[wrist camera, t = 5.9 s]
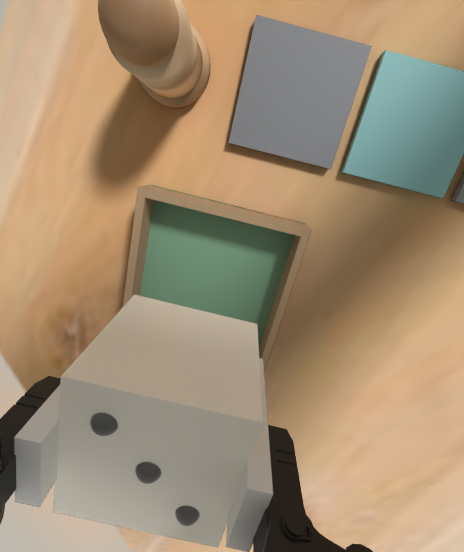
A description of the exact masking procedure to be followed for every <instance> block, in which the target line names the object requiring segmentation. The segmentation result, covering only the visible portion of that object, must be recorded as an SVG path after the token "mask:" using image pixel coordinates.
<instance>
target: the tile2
mask: <svg viewBox="0 0 464 552" xmlns="http://www.w3.org/2000/svg"><path fill="white" fill-rule="evenodd" d="M463 155H464V71H460V70H457V69H453V68H449V67H446V66H442V65H439V64H435V63H431V62H428V61H424V60H420V59H417V58H413V57H409V56H406V55H402V54H398V53H395V52H391V51H387V50H385V51H384V52H383V53H382V55H381V58H380V61H379V64H378V67H377V70H376V73H375V76H374V78H373V81H372V84H371V87H370V90H369V93H368V96H367V99H366V102H365V105H364V107H363V110H362V113H361V116H360V119H359V122H358V125H357V128H356V131H355V133H354V136H353V139H352V142H351V145H350V148H349V151H348V154H347V157H346V160H345V162H344V165H343V168H342V171H341V172H342V173H346V174H350V175H354V176H358V177H362V178H365V179H369V180H373V181H377V182H381V183H385V184H389V185H393V186H396V187H400V188H404V189H408V190H412V191H416V192H420V193H424V194H427V195H431V196H435V197H439V198H443V197H444V195H445V193H446V191H447V189H448V187H449V185H450V182H451V180H452V178H453V176H454V174H455V172H456V170H457V168H458V165H459V163H460V161H461V159H462V157H463Z"/></svg>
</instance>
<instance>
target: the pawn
mask: <svg viewBox="0 0 464 552" xmlns="http://www.w3.org/2000/svg"><path fill="white" fill-rule="evenodd" d="M98 14H99V20H100V24H101V28H102V31H103V33H104V35H105V37H106V39H107V42H108V45H109V48H110V50H111V52H112V54H113V55H114V57H115V58H116V60H117V61H118V62H119V63H120V64H121V65H122V66H123V67H124V68H125V69H126V70H128V71H129V72H130V73H131V74H133V75H134V76H135V77H136V78H137V79H138V80H139V82H140V84H141V86H142V87H143V89H144V90H145V91H146V92H147V94H148V95H150V96H151V97H152V98H153V99H155V100H156V101H157V102H159V103H161V104H163V105H165V106H168V107H172V108H180V107H185V106H188V105H190V104H192V103H193V102H195V101H196V100H197V99H198V98H199V97H200V96H201V95H202V93H203V92H204V90H205V88H206V86H207V84H208V81H209V76H210V59H209V54H208V51H207V48H206V46H205V43H204V41H203V39H202V37H201V35H200V34H199V32H198V31H197V30H196V29H195V28H194V27H193V26H192V25H191V24H190V22H189V19H188V17H187V14H186V12H185V9H184V7H183V5H182V3H181V0H99V1H98Z"/></svg>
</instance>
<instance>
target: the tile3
mask: <svg viewBox="0 0 464 552" xmlns="http://www.w3.org/2000/svg"><path fill="white" fill-rule="evenodd" d="M451 201H455V202H458V203H462V204H464V174H463V176H462V178H461V180H460V182H459V184H458V186H457V188H456V190H455V192H454V194H453V197H452V199H451Z"/></svg>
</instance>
